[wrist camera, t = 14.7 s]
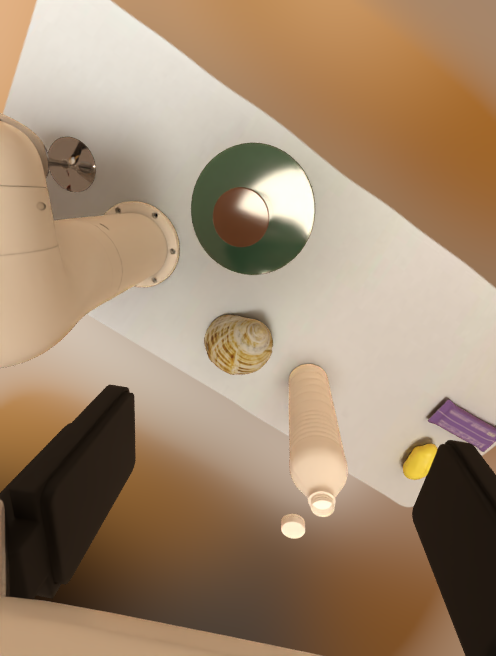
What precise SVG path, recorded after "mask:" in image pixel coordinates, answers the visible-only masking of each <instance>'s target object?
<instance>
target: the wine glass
mask: <svg viewBox="0 0 496 656" xmlns="http://www.w3.org/2000/svg"><path fill="white" fill-rule="evenodd" d="M0 121H2V122H5V123H7V124H9V125H12V126H14V127H15V128H17V129H19V130H20V131H22V132H23V133H24V134H25V135H26V136H27V137H28V138H29V139H30V140H31V141H32V143H33V144H34V146H35V148H36V149H37V151H38V154H39V156H40V159H41V162H42V166H43V170H44V174H45V179H46V178H47V176H48V173H49V170H50V172H51V174H52V176H53V178H54V179H55V181H56V182H57V183H58V184H59V185H60V186H61V187H63V188H64V189H66V190H68V191H71V192H81V191H84V190H86V189H87V188H89V187H90V185H91V184H92V183H93V181H94V178H95V172H96V167H95V161H94V158H93V156H92V154H91V152H90V150H89V149H88V148H87V147H86V145H85V144H83V143H82V142H81V141H79V140H77V139H75V138H72V137H62V138H59V139H58V140H56V141H55V142H54V143H53V144H52V146H51V147H50V149H49V153H48V152H47V150H46V147H45V146H44V144H43V142H42V141H41V139H40V138H39V137H38V136H37V135H36V134H35V133H34V132H33V131H32V130H30V129H29V128H28V127H26V126H25V125H23V124H22V123H20V122H18V121H16V120H14V119H12V118H10V117H8V116H6V115H4V114H1V113H0Z"/></svg>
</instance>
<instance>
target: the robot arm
mask: <svg viewBox="0 0 496 656" xmlns="http://www.w3.org/2000/svg"><path fill="white" fill-rule="evenodd" d="M119 209H120V210H121V212H120V211H119ZM156 213H157V214H158V217H156ZM173 249H174V250H175V252H173ZM179 250H180V248H179V240H178V237H177V233H176V231H175V229H174V227H173V225H172V223H171V222H170V221H169V219H168V218H167V217H166V216H165V215H164V214H163V213H162V212H161V211H160V210H158V209H157V208H155V207H154V206H151V205H149V204H147V203H143V202H137V201H129V202H123V203H119V204H117V205H115V206H113V207H112V208H110V209H109V210H108V211H107V212H106V213H105V214H104V215H102V216H92V217H81V218H70V219H60V220H55V221H54V220H53V215H52V209H51V204H50V198H49V193H48V188H47V184H46V179H45V174H44V170H43V166H42V162H41V159H40V156H39V154H38V151H37V149H36V148H35V146H34V144H33V143H32V141H31V140H30V139H29V138H28V137H27V136H26V135H25V134H24V133H23V132H22V131H20V130H19V129H17V128H15V127H14V126H12V125H9V124H7V123H5V122H2V121H0V368H4V367H9V366H14V365H17V364H20V363H23V362H26V361H29V360H31V359H33V358H35V357H37V356H39V355H41V354H43V353H44V352H46V351H48V350H49V349H50V348H52V347H53V346H55V345H56V344H57V343H58V342H59V341H61V340H62V339H63V338H64V337H65V336H66V335H67V334H68V333H69V332H70V331H71V330H72V328H73V327H74V326H75V325H76V324H77V322H78V321H79V320H80V319H81V318H82V317H83V316H85V315H86V314H87V313H89V312H90V311H92V310H93V309H95V308H96V307H98V306H100V305H101V304H103V303H105V302H107V301H109V300H111V299H112V298H114V297H116V296H118V295H119V294H121V293H123V292H124V291H126V290H128V289H130V288H131V287H133V286H135V287H151V286H154V285H157V284H159V283H161V282H163V281H164V280H165V279H167V278H168V277H169V276H170V275H171V273H172V272H173V271H174V269H175V267H176V265H177V262H178V259H179ZM155 278H156V279H157V280H155ZM134 464H135V411H134V394H133V393H129V389H128V388H127V387H122V386H116V385H108V386H107V387H106V388H105V389H104V390H103V391H102V392H101V393H100V394H99V395H98V396H97V397H96V398H95V399H94V400H93V401H92V402H91V403H90V404H89V405H88V406H87V407H86V409H84V411H83V412H82V413H81V414H80V415H79V416H78V417H77V418H76V419H75V420H74V421H73V422H72V423H70V424H68V425H67V426H65V427H64V428H63V429H62V430H61V431H60V432H59V433H58V434H57V435H56V436H55V437H54V438H53V439H52V440H51V441H50V443H48V445H46V447H45V448H44V449H43V450H42V451H41V452H40V453H39V454H38V455H37V456H36V457H35V458H34V459H33V460H32V461H31V462H30V463H29V464H28V465H27V466H26V467H25V468H24V469H23V470H22V471H21V472H20V473H19V474H18V475H17V476H16V477H15V478H14V479H13V480H12V481H11V483H9V484H8V485H7V486H6V488H5V489H4V490H3V491H2V492H1V493H0V656H321V655H317V654H312V653H307V652H302V651H297V650H293V649H288V648H283V647H278V646H273V645H268V644H263V643H258V642H253V641H249V640H244V639H239V638H234V637H229V636H224V635H220V634H215V633H209V632H205V631H200V630H195V629H189V628H185V627H180V626H174V625H170V624H165V623H160V622H155V621H149V620H144V619H140V618H135V617H129V616H124V615H120V614H115V613H109V612H104V611H98V610H93V609H87V608H81V607H76V606H70V605H65V604H59V603H53V602H48V601H40V600H33V599H34V598H35V596H36V595H38V596H43V597H48V598H53V597H54V595H55V594H56V592H57V590H58V589H59V587H60V585H61V584H67V583H68V582H69V581H70V579H71V578H72V576H73V574H74V573H75V571H76V569H77V567H78V566H79V564H80V562H81V560H82V559H83V557H84V555H85V553H86V551H87V550H88V548H89V546H90V544H91V543H92V540H93V539H94V537H95V536H96V534H97V532H98V530H99V529H100V527H101V525H102V523H103V522H104V520H105V518H106V516H107V515H108V513H109V511H110V509H111V508H112V505H113V504H114V502H115V500H116V499H117V497H118V495H119V494H120V492H121V490H122V488H123V486H124V485H125V483H126V481H127V480H128V478H129V476H130V474H131V472H132V470H133V468H134ZM412 515H413V516H412V517H413V522H414V524H415V527H416V530H417V532H418V535H419V537H420V540H421V542H422V545H423V547H424V550H425V553H426V555H427V558H428V560H429V563H430V565H431V568H432V571H433V573H434V576H435V578H436V581H437V584H438V586H439V589H440V591H441V594H442V597H443V599H444V602H445V604H446V607H447V609H448V612H449V615H450V617H451V620H452V622H453V625H454V627H455V630H456V632H457V635H458V638H459V640H460V643H461V645H462V648H463V651H464V653H465V656H496V475H495V473H494V472H493V471H492V469H491V468H490V467H489V465H488V464H487V463H486V461H485V460H484V459H483V457H482V456H481V455H480V453H479V452H478V451H477V449H476V448H475V447H474V446H473V445H472V444H470V443H465V442H459V441H453V440H448V441H447V442H446V443H445V444H441V445H440V446H439V448H438V450H437V452H436V455H435V457H434V460H433V462H432V464H431V467H430V469H429V471H428V474H427V476H426V479H425V481H424V483H423V486H422V488H421V491H420V493H419V495H418V498H417V500H416V502H415V505H414V507H413V512H412Z"/></svg>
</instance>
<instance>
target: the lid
mask: <svg viewBox="0 0 496 656" xmlns="http://www.w3.org/2000/svg"><path fill="white" fill-rule="evenodd" d="M191 216H192V223H193V227H194V230H195V233H196V236H197V238H198V240H199V242H200V244H201V245H202V247H203V248H204V250H205V251H206V252H207V253H208V255H209V256H210V257H211V258H212V259H213V260H215V261H216V262H217V263H218V264H220V265H221V266H223V267H225V268H227V269H229V270H231V271H234V272H237V273H241V274H247V275H259V274H265V273H269V272H272V271H275V270H277V269H279V268H282V267H283V266H285V265H286V264H288V263H289V262H290V261H292V260H293V259H294V258H295V257H296V256H297V255H298V254H299V253H300V251H301V250H302V249H303V247H304V246H305V244H306V242H307V240H308V238H309V236H310V234H311V231H312V228H313V224H314V217H315V200H314V194H313V190H312V186H311V184H310V181H309V179H308V177H307V175H306V174H305V172H304V170H303V169H302V168H301V166H300V165H299V164H298V163H297V162H296V161H295V160H294V159H293V158H292V157H291V156H290V155H288V154H287V153H286V152H284V151H282V150H280V149H278V148H276V147H273V146H271V145H267V144H262V143H244V144H240V145H236V146H233V147H230V148H228V149H226V150H224V151H223V152H221V153H219V154H218V155H217V156H216V157H214V158H213V159H212V160H211V161H210V162H209V163H208V164H207V165H206V167H205V168H204V169H203V171H202V172H201V174H200V176H199V178H198V180H197V182H196V185H195V188H194V191H193V195H192V203H191Z"/></svg>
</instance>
